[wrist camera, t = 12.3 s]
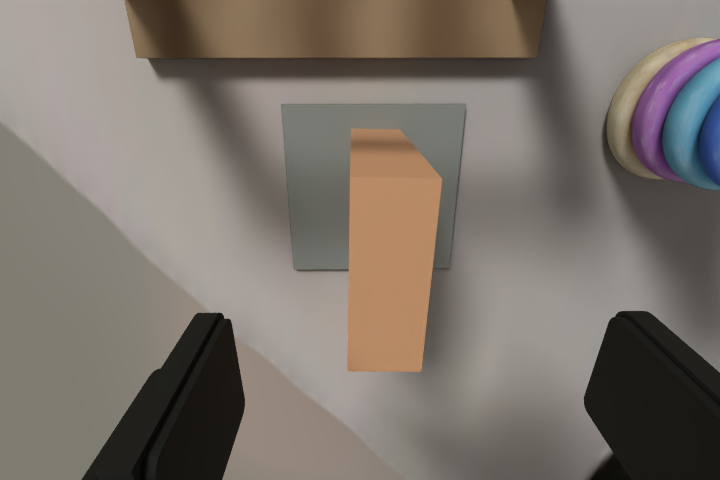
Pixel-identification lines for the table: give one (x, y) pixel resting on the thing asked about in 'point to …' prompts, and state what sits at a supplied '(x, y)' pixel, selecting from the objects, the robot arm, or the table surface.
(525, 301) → the table surface
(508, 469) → the table surface
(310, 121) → the mat
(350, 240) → the tall peach block
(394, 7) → the rack
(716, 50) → the stacking toy
